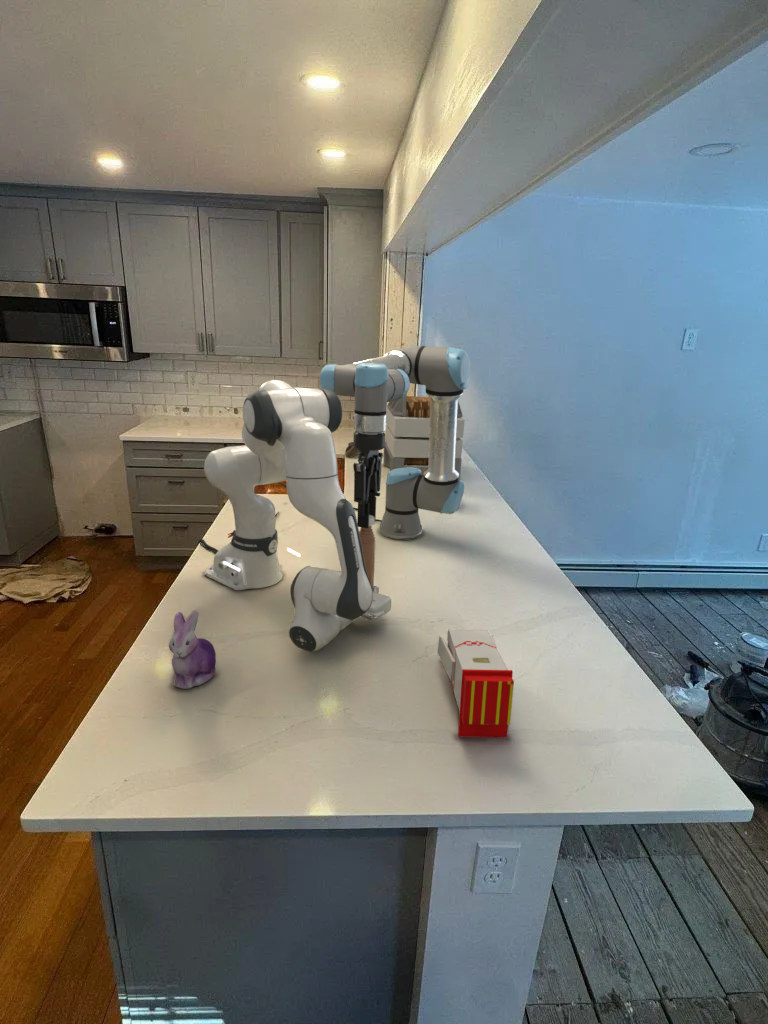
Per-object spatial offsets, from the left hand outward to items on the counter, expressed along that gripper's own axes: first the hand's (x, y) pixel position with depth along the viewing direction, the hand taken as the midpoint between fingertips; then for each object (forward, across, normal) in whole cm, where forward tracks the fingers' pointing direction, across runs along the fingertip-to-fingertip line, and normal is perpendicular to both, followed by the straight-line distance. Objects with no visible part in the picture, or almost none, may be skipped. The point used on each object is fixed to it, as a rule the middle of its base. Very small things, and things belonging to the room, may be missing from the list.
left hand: (365, 585), depth 148 cm
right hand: (-1, 0, -18) cm, 18 cm away
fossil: (+144, +82, +6) cm, 166 cm away
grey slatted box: (+128, +38, +6) cm, 134 cm away
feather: (+44, +61, +6) cm, 75 cm away
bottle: (-1, 0, +6) cm, 6 cm away
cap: (-1, 0, -19) cm, 19 cm away
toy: (-20, -36, +6) cm, 42 cm away
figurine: (-44, +17, +6) cm, 48 cm away
